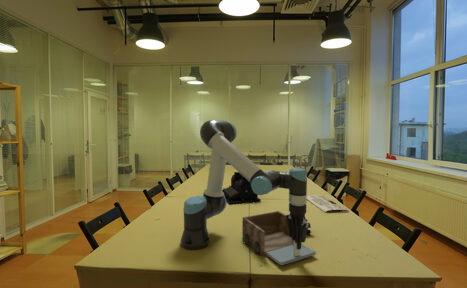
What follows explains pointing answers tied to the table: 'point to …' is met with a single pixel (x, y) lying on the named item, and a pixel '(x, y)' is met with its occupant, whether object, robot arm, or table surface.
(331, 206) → the newspaper
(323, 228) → the table surface
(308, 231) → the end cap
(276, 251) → the panel
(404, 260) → the table surface
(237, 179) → the typewriter
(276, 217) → the box
